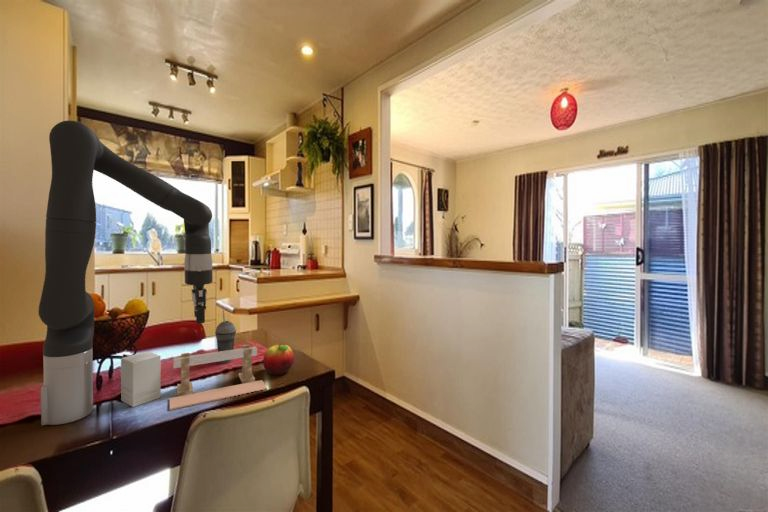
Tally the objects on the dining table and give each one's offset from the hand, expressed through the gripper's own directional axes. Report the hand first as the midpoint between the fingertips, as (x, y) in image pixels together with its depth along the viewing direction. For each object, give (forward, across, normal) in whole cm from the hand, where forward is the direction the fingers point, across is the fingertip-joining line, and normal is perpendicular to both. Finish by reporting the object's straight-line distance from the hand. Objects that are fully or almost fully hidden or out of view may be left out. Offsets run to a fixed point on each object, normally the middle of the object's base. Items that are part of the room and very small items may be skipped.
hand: (199, 319), depth 102 cm
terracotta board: (+22, +8, +5) cm, 24 cm away
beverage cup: (+22, -20, +10) cm, 32 cm away
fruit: (+23, -2, +25) cm, 34 cm away
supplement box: (+22, 0, -15) cm, 27 cm away
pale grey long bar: (+14, 0, +5) cm, 15 cm away
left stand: (+22, 0, -4) cm, 22 cm away
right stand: (+22, 0, +14) cm, 26 cm away
